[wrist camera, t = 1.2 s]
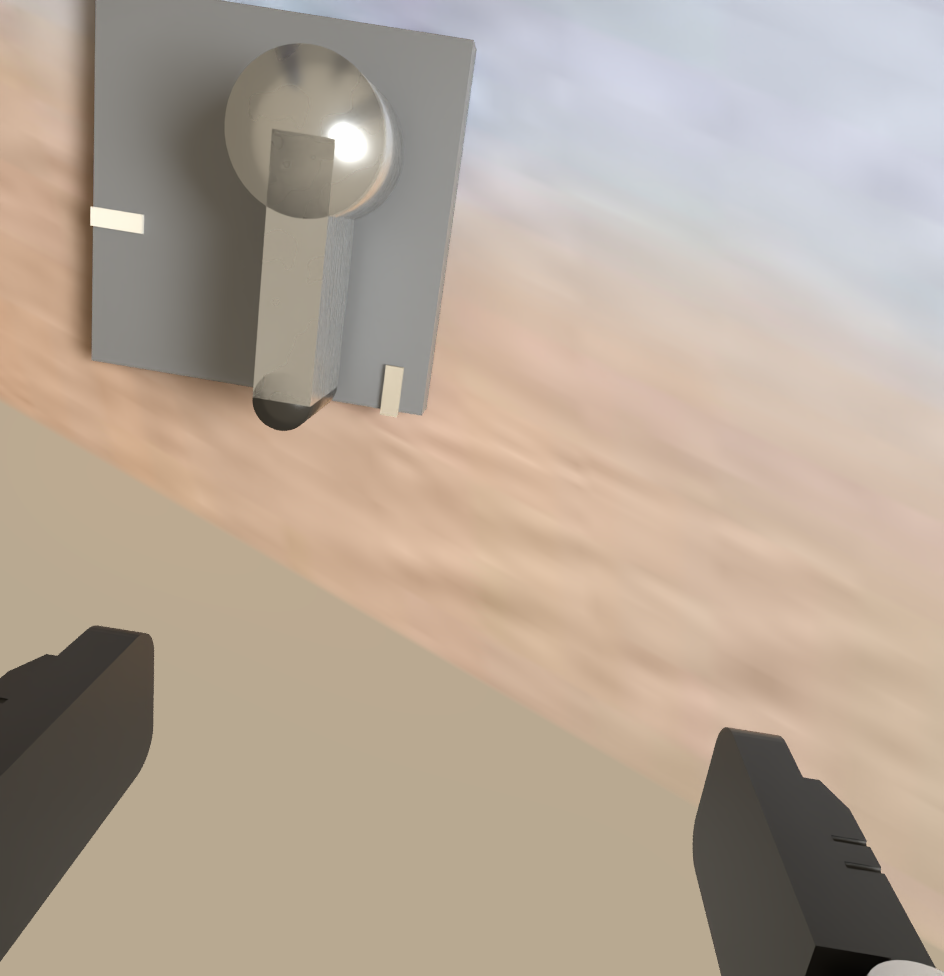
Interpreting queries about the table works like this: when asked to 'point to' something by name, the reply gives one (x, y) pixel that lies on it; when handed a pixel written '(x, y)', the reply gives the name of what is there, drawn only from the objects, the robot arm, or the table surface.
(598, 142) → the table surface
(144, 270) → the base
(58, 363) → the table surface
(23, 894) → the robot arm
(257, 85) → the lever
